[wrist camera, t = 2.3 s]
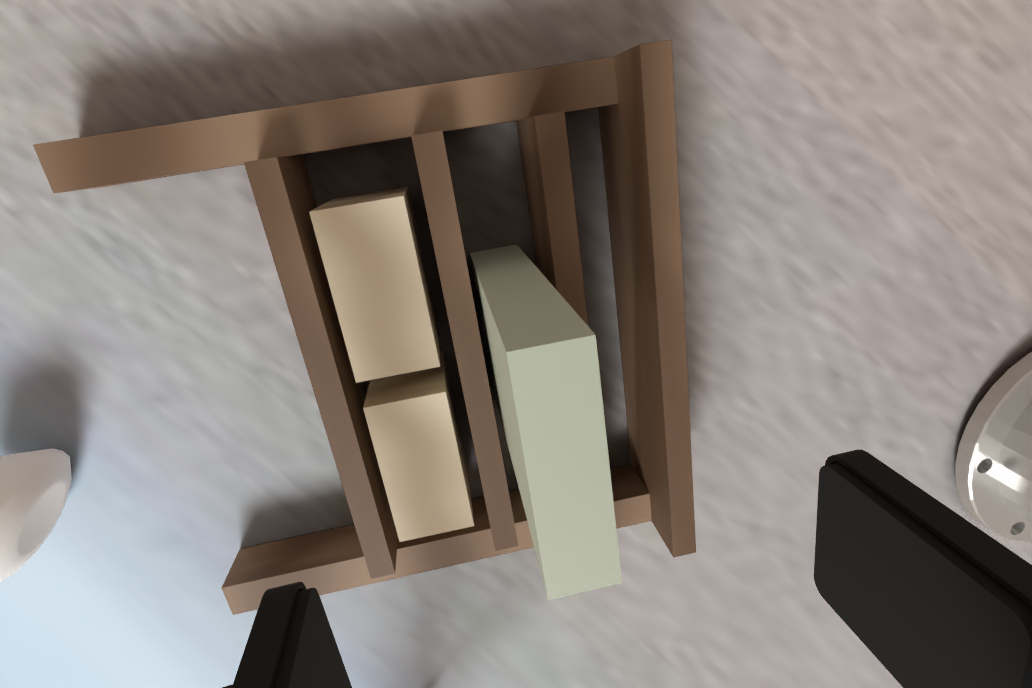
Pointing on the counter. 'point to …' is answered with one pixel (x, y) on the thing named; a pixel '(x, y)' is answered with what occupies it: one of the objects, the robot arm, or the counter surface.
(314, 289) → the rack
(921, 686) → the robot arm
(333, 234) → the offcut
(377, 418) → the offcut
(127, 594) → the counter surface
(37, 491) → the white jar
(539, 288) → the sage green slab
